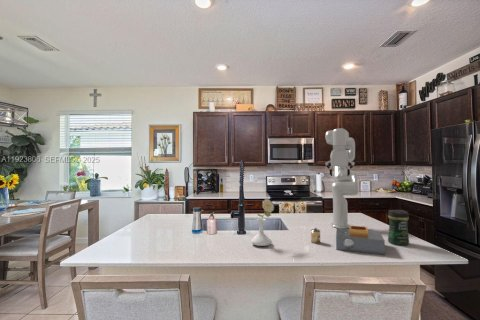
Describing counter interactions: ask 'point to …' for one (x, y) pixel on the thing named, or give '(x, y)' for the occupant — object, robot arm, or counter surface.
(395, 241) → the coffee jar
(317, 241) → the brass can
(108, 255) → the counter surface
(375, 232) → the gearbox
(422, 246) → the counter surface
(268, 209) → the flower in vase
